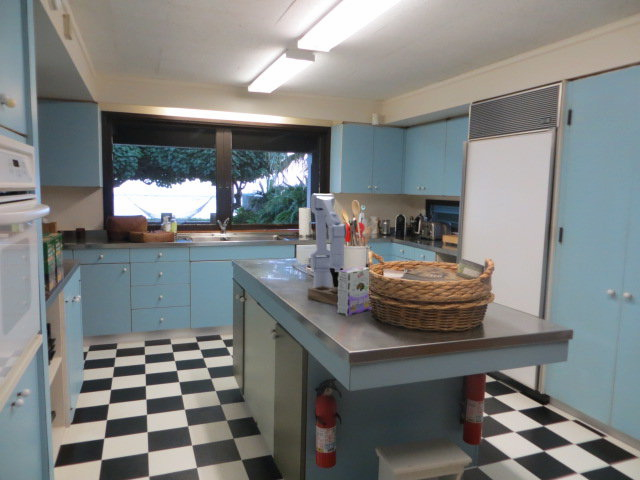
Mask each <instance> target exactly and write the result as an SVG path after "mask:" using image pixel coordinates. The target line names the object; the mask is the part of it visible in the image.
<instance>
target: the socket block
mask: <svg viewBox="0 0 640 480" xmlns="http://www.w3.org/2000/svg"><path fill="white" fill-rule="evenodd" d="M307 298H308V299H310V300H314V301H318V302H322V303H326V304H330V305H334V306H337V298H338V293H333V292H332V288H330V287H326V286H319V287H315V288H314V287H310V288H308V289H307Z"/></svg>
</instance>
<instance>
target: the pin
mask: <svg viewBox="0 0 640 480" xmlns="http://www.w3.org/2000/svg"><path fill="white" fill-rule="evenodd" d="M332 292H333V293H338V287H334V285H333V278H332Z"/></svg>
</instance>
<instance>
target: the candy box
mask: <svg viewBox="0 0 640 480" xmlns="http://www.w3.org/2000/svg"><path fill="white" fill-rule="evenodd" d="M369 268H370V267H365V266H358V267H351V268H346V269H343V270H340V271H338V298H337V305H336V306H337V309H336V311H337V312H336V313H337V314H340V315H343V316H347V317H348V316H349V317H350V316H352V315H355V314H360V313H362V312H366V311H370V310H371V309H370V306H369V295H368V293H369V287H368V286H369Z"/></svg>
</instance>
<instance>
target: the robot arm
mask: <svg viewBox="0 0 640 480" xmlns="http://www.w3.org/2000/svg"><path fill="white" fill-rule="evenodd" d="M335 199H336V198H335V195H334V194H333V193H312V194H311V196H310V210H311V213H312V214H314V218H315V241H316V242H315V243H316V244H315V245H316V246H315V248H316V249H315V250H314V251H312V253H311V254H310V262H309V264H310V269H311V270H312V271H313V288H315V287H319V286H326V287H330V288H332V278H333V285H334V287H338V271H340V270H344V266H345V263H344V259H345V258H344V257H345V239H346V237H347V226H346V224H345V223H342V221H341V219H340V217H339V215H338V213H336V212H335V210H334V206H335ZM327 228H328V230H327ZM327 236H328V240H327ZM327 241H328V242H329V249H328V248H327V247H328V244H327V243H328V242H327Z"/></svg>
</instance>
